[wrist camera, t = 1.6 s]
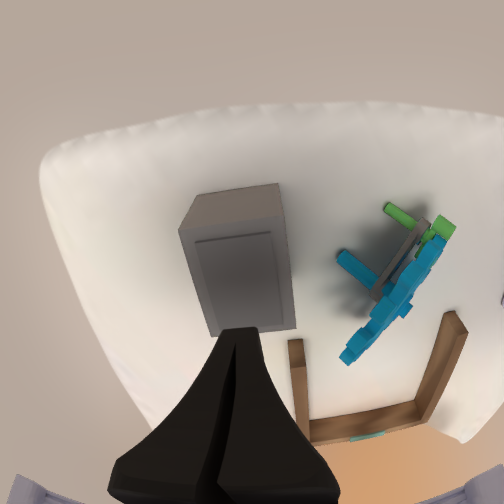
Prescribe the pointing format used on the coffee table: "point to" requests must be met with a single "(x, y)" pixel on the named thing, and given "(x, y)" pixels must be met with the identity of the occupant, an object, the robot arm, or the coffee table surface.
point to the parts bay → (388, 417)
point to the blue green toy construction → (398, 296)
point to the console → (240, 259)
